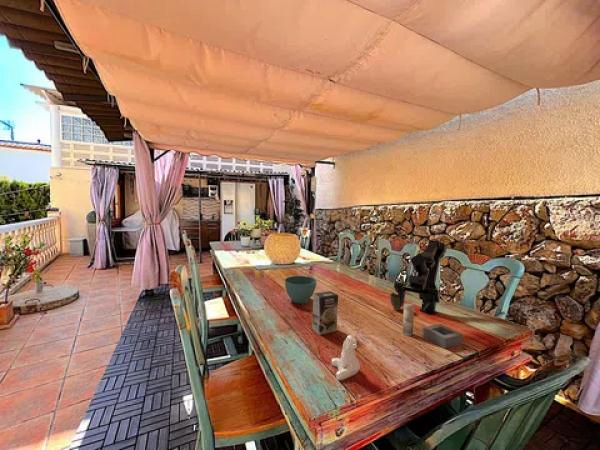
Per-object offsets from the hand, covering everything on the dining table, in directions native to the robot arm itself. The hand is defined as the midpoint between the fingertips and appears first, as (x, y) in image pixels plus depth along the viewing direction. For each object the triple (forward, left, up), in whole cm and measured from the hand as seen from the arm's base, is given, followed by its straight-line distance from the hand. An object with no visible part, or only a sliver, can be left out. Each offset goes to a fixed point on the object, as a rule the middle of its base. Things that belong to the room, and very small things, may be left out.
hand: (411, 307), depth 113 cm
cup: (-13, -22, -11) cm, 27 cm away
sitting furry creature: (+42, +14, -11) cm, 46 cm away
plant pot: (+31, -51, -11) cm, 60 cm away
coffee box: (+35, -14, -11) cm, 39 cm away
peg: (+3, +2, -10) cm, 11 cm away
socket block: (-6, +11, -10) cm, 16 cm away
